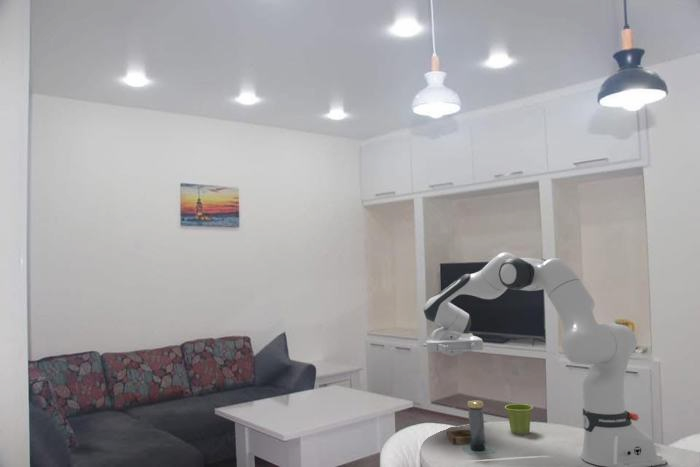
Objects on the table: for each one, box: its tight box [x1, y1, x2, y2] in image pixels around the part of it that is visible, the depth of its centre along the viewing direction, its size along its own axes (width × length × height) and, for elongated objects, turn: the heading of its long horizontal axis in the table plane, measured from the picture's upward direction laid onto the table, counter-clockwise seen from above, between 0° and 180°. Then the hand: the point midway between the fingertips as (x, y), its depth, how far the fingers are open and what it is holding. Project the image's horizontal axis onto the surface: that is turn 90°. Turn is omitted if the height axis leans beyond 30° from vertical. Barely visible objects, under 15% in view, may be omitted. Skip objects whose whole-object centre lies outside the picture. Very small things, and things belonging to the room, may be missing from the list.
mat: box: [460, 443, 497, 456], centre depth 180 cm, size 9×9×1 cm
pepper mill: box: [467, 399, 486, 451], centre depth 181 cm, size 5×5×14 cm
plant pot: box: [504, 403, 533, 435], centre depth 199 cm, size 9×9×9 cm
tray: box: [446, 428, 470, 445], centre depth 191 cm, size 10×9×2 cm
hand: (459, 347), depth 198 cm, fingers open, 8 cm apart
